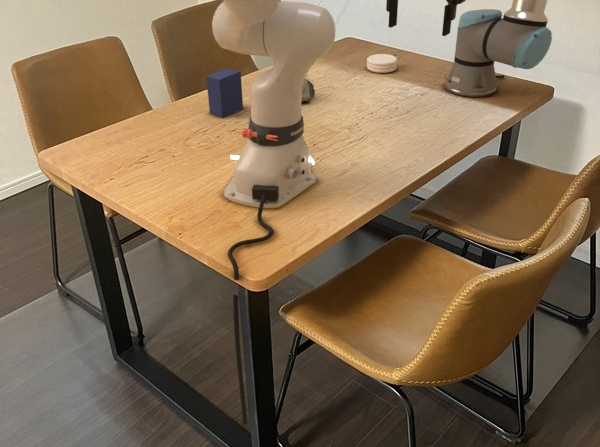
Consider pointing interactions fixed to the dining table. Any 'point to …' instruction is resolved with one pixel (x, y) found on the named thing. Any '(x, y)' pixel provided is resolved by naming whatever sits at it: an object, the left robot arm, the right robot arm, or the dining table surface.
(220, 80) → the brick
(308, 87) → the rock
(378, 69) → the coaster
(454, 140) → the dining table surface
